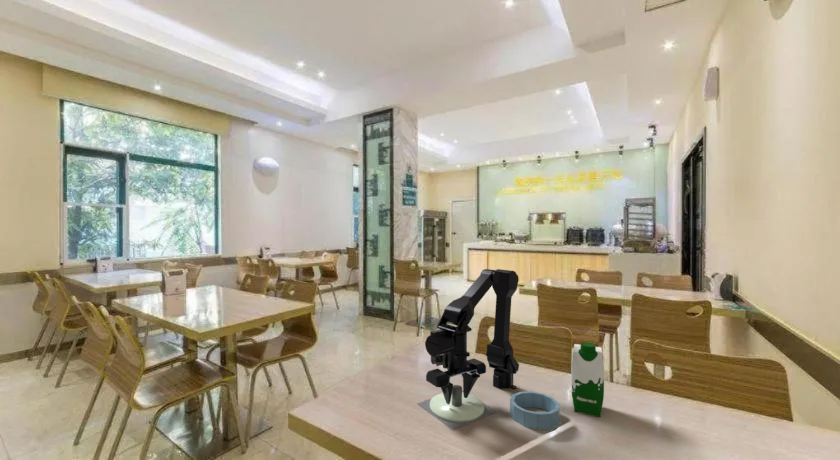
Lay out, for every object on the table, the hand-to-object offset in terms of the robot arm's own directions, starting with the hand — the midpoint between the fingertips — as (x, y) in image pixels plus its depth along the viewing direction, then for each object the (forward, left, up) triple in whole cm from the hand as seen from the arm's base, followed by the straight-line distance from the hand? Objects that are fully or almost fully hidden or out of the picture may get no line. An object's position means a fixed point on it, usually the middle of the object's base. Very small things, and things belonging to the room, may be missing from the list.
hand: (456, 400), depth 107 cm
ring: (-15, +16, -3) cm, 22 cm away
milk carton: (-33, +21, -3) cm, 39 cm away
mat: (0, 0, -3) cm, 3 cm away
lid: (0, 0, -2) cm, 2 cm away
